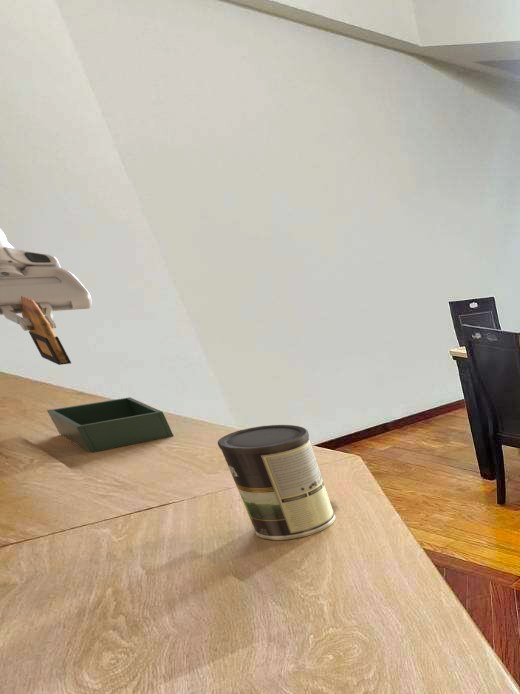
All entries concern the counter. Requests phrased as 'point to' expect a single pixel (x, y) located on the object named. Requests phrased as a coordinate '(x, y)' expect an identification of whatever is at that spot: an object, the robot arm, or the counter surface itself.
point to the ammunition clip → (43, 334)
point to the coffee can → (278, 481)
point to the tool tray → (110, 423)
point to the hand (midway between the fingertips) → (40, 327)
